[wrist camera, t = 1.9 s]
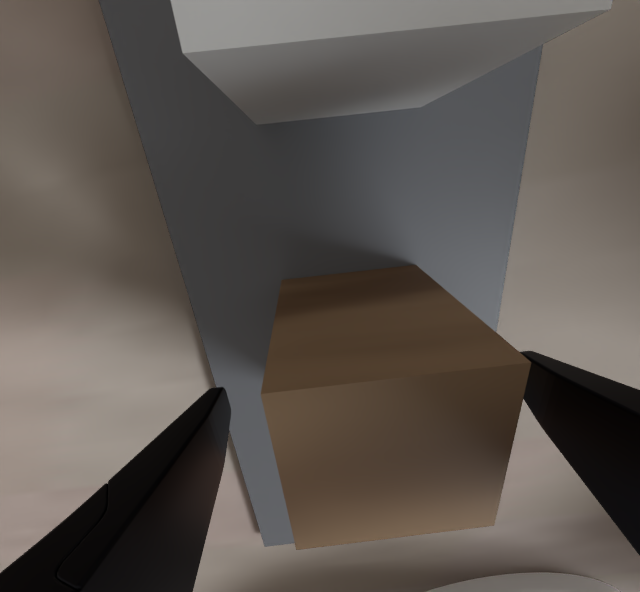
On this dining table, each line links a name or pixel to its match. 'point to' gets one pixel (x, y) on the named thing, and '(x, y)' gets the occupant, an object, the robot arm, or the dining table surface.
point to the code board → (315, 205)
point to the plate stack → (529, 584)
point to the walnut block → (387, 407)
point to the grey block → (360, 49)
